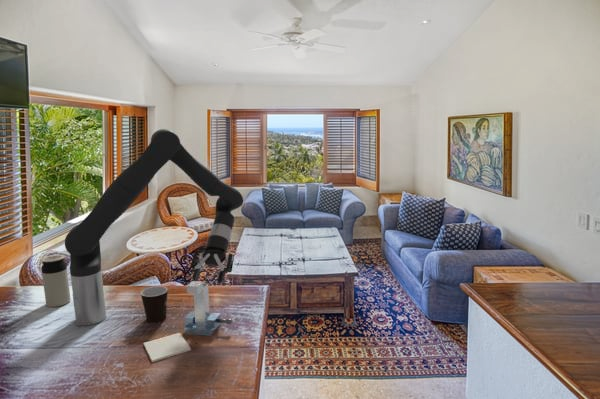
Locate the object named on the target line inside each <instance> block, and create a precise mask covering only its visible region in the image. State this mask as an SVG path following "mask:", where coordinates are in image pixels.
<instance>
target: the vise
mask: <svg viewBox="0 0 600 399" xmlns="http://www.w3.org/2000/svg"><path fill="white" fill-rule="evenodd" d="M221 316H222V315H221V313H220V312H210V315H209V316H208V318H207V319H206V320H205V322H206V326H202V325H195V310H190V311H189V313H188V314H186V315H185V316H184V318H183V322H184V334H187V335H188V334H191V335H199V336H206V337H207V336H209V337H212V335H213V334H214V333H215V332H216V330H218V328H219V327H220V326H221V324H227V325H232V324H233V320H232V318H228V319H224V318H221Z"/></svg>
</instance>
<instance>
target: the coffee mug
mask: <svg viewBox="0 0 600 399" xmlns="http://www.w3.org/2000/svg"><path fill="white" fill-rule="evenodd" d="M168 292H169V291H168V287H166V286H161V285H159V286H157V285H156V286H149V287H147V288H144V289H143V290H142V291H140V296H141V299H142V300H141V301H142V304H143V309H144V314H145V318H146V319H145V320H146V322H148V323H150V324H154V323H155V324H156V323H157V324H158V323H161V322H162V321H165V320H166V319H167V312H168V311H167V310H168V309H167V308H168Z"/></svg>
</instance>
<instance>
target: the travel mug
mask: <svg viewBox="0 0 600 399" xmlns="http://www.w3.org/2000/svg"><path fill="white" fill-rule="evenodd" d="M65 257H66V256H65V255H64V254H52V255H51V254H50V255H47V256H43V257H42V258H41V259H40V261H41V262H42V266H41V268H40V270H41V274H42V277H41V278H42V284H43V292H44V300H45V306H46V307H50V308H57V307H62V306H64V305H66V304H67V305H68V303H70V302H71V300H72V299H71V292H70V290H71V289H70V285H69V276H68V267H67V263H66V262H65Z"/></svg>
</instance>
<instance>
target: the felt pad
mask: <svg viewBox="0 0 600 399" xmlns="http://www.w3.org/2000/svg"><path fill="white" fill-rule="evenodd" d="M143 347H144V348H145V350H146V352H147V356H148V357H149V360H150V361H151V363H154V362H158V361H161V360H164V359H167V358H170V357H174V356H176V355H180V354H183V353H188V352H189V351H191V350H192V348H191V347H190V345H189V343H188V342H187V341H186V339H185V338H184V337H183V335H182V334H181V332H176V333H173V334H171V335H170V334H169V335H167V336H164V337H161V338H156V339H153V340H150V341H145V342H143Z"/></svg>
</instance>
